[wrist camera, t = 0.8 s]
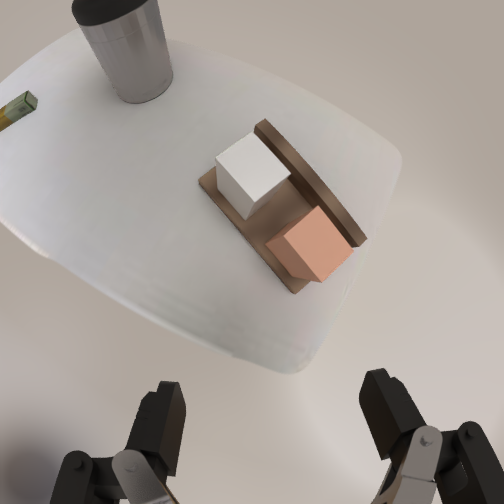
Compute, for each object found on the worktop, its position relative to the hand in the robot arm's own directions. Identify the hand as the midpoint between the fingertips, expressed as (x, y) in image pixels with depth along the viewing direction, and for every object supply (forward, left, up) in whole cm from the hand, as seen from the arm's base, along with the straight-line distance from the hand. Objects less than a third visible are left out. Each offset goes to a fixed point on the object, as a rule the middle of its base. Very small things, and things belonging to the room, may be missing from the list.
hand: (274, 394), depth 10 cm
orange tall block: (-2, +9, -21) cm, 23 cm away
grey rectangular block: (-10, +9, -21) cm, 25 cm away
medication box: (-53, -12, -24) cm, 59 cm away
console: (-6, +11, -23) cm, 26 cm away
